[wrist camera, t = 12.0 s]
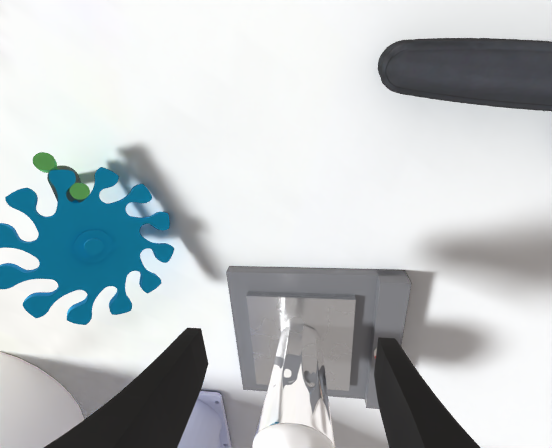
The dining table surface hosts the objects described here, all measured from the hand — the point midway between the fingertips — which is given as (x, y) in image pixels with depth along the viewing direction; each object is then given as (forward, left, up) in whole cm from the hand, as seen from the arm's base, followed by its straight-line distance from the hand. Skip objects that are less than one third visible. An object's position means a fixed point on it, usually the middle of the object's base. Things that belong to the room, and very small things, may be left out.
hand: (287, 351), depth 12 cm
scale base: (-9, -1, -10) cm, 13 cm away
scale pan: (-9, 0, -9) cm, 13 cm away
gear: (+2, +13, -10) cm, 17 cm away
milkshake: (-9, 0, -9) cm, 12 cm away
